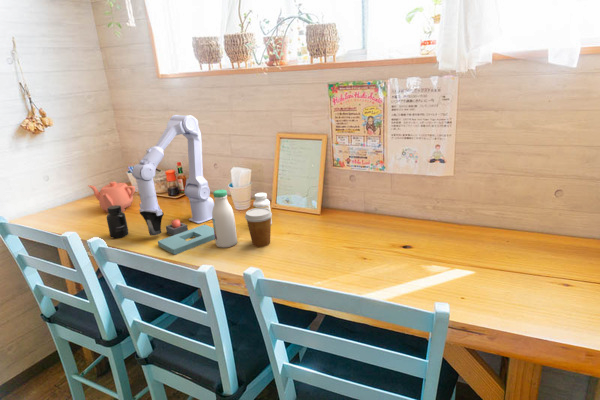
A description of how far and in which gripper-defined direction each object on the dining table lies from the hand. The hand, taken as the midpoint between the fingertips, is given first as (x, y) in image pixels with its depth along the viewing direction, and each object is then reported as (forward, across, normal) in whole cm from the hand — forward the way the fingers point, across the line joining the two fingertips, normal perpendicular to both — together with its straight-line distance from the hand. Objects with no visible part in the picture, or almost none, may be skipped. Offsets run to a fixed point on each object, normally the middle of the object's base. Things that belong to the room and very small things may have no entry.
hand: (154, 229), depth 156 cm
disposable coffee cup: (+4, +37, +22) cm, 43 cm away
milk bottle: (+4, +27, +14) cm, 31 cm away
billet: (+2, 0, 0) cm, 2 cm away
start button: (+2, +2, +8) cm, 8 cm away
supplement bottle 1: (+4, -15, -8) cm, 17 cm away
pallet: (+4, +14, +7) cm, 16 cm away
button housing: (+4, +2, +8) cm, 9 cm away
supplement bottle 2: (+4, +24, +34) cm, 42 cm away
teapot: (+4, -50, +4) cm, 50 cm away
